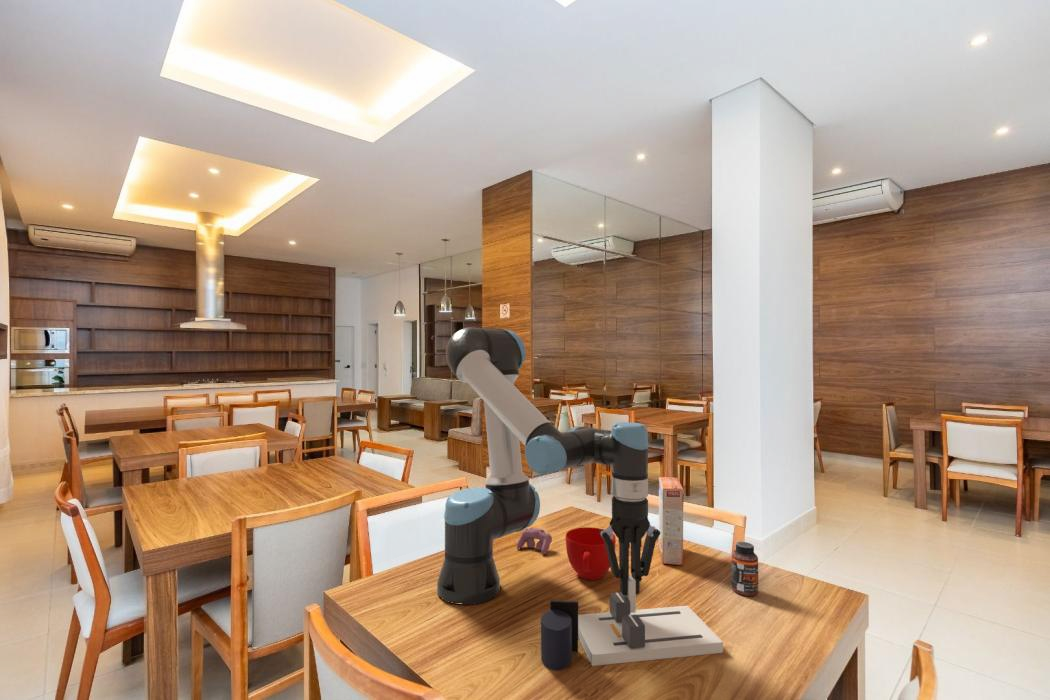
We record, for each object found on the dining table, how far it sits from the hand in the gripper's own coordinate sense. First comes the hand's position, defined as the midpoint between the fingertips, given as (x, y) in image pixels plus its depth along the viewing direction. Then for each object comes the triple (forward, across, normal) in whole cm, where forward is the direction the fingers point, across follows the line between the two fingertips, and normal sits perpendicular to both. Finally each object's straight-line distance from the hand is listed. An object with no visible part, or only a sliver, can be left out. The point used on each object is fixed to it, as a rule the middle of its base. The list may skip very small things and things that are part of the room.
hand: (629, 609), depth 103 cm
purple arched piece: (+4, -12, +44) cm, 46 cm away
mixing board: (+4, +1, -5) cm, 6 cm away
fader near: (+1, -3, -9) cm, 10 cm away
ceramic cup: (+4, -2, +23) cm, 24 cm away
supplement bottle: (+4, +33, +10) cm, 35 cm away
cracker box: (+4, +25, +33) cm, 42 cm away
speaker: (+4, -17, -9) cm, 20 cm away
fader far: (+1, -2, 0) cm, 3 cm away
